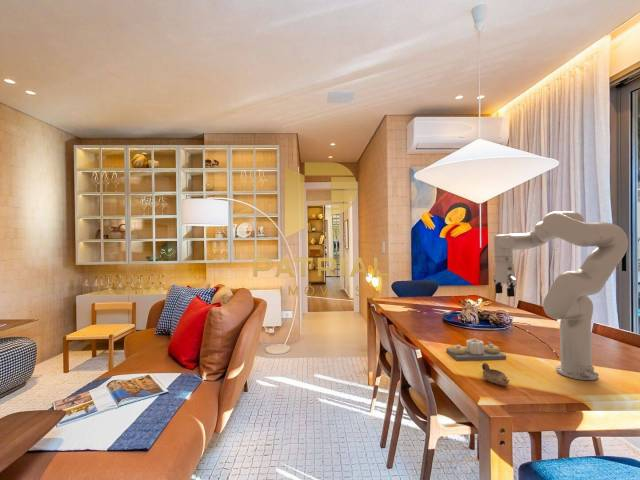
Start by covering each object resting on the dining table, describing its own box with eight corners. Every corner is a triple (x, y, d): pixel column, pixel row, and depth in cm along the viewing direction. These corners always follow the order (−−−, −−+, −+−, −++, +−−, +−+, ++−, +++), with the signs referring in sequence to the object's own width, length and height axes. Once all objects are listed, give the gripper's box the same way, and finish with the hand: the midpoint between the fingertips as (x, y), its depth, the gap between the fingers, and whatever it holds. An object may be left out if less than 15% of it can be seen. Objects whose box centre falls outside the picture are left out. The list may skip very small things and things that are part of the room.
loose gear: (487, 354, 144) (486, 343, 144) (470, 355, 145) (470, 343, 145) (479, 349, 152) (479, 338, 152) (464, 349, 152) (463, 339, 152)
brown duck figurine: (515, 388, 115) (514, 374, 115) (495, 389, 115) (494, 375, 115) (493, 373, 128) (492, 361, 128) (474, 374, 128) (474, 362, 128)
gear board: (506, 359, 142) (505, 342, 142) (456, 360, 143) (456, 343, 143) (492, 349, 154) (491, 334, 154) (446, 351, 155) (445, 335, 155)
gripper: (522, 260, 148) (523, 297, 148) (500, 258, 165) (502, 291, 165) (506, 261, 148) (507, 298, 148) (486, 259, 165) (487, 292, 165)
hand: (504, 294), depth 157 cm, fingers open, 9 cm apart
